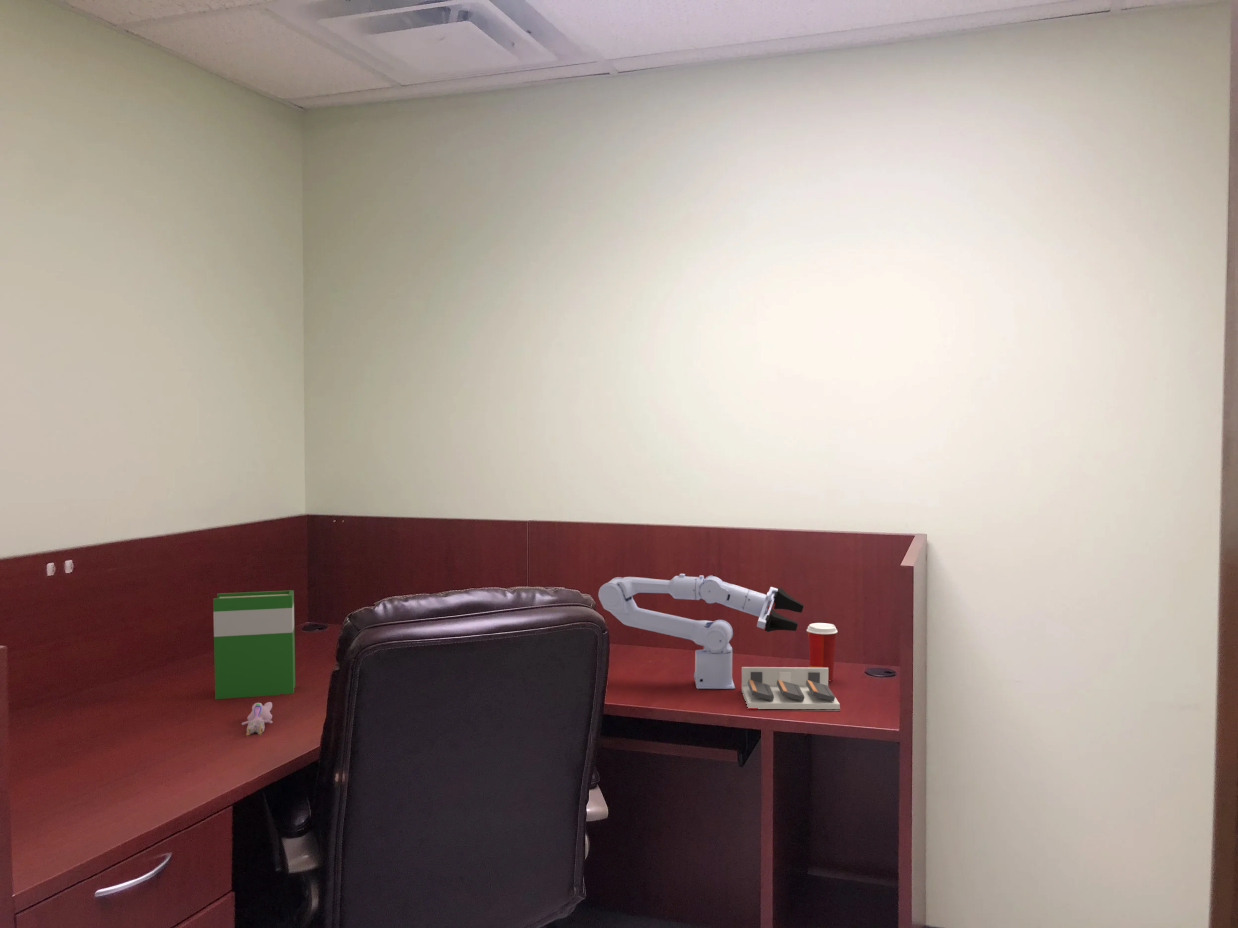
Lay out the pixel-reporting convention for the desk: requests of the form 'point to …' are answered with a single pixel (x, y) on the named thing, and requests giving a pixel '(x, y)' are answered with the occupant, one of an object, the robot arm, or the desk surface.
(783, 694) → the switch
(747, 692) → the switch unit
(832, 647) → the paper cup
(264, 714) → the pink and white figure
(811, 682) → the switch
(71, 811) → the desk surface
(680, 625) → the robot arm
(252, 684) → the hardback book
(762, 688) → the switch
